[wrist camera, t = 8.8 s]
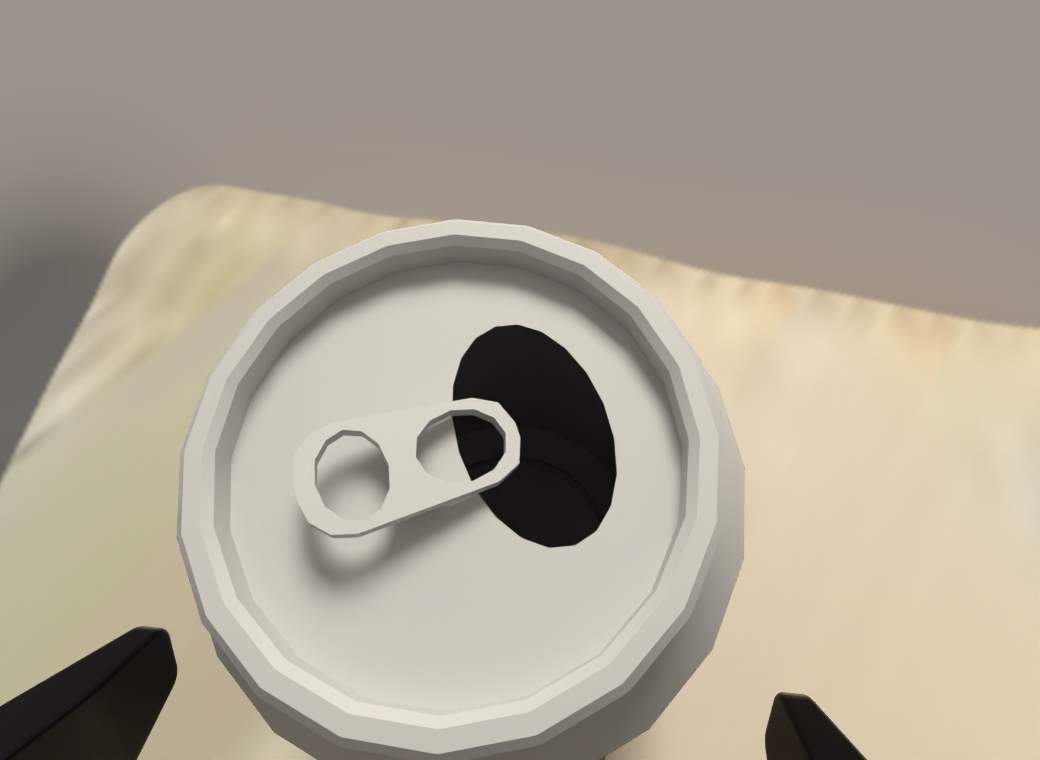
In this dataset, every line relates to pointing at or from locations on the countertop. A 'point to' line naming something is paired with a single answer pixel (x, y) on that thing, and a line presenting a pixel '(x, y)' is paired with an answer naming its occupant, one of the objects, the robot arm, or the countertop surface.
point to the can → (461, 501)
